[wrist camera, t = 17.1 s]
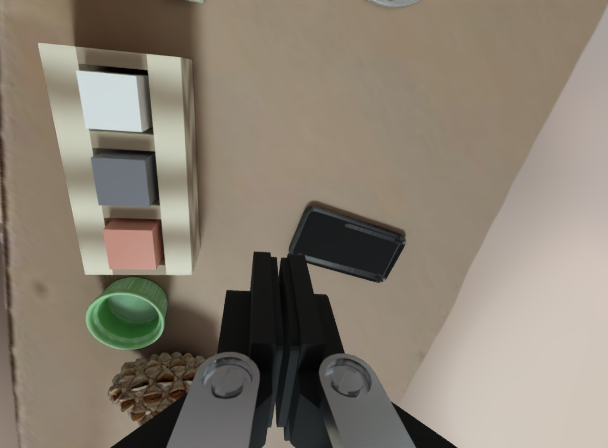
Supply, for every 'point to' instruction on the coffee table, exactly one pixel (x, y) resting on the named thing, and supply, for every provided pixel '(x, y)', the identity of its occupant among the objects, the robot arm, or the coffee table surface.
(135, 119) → the white key
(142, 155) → the grey rectangular block
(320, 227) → the phone
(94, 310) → the ramekin
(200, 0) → the skincare box
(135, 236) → the brick key
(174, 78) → the wooden compartment tray
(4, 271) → the coffee table surface
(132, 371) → the pine cone
